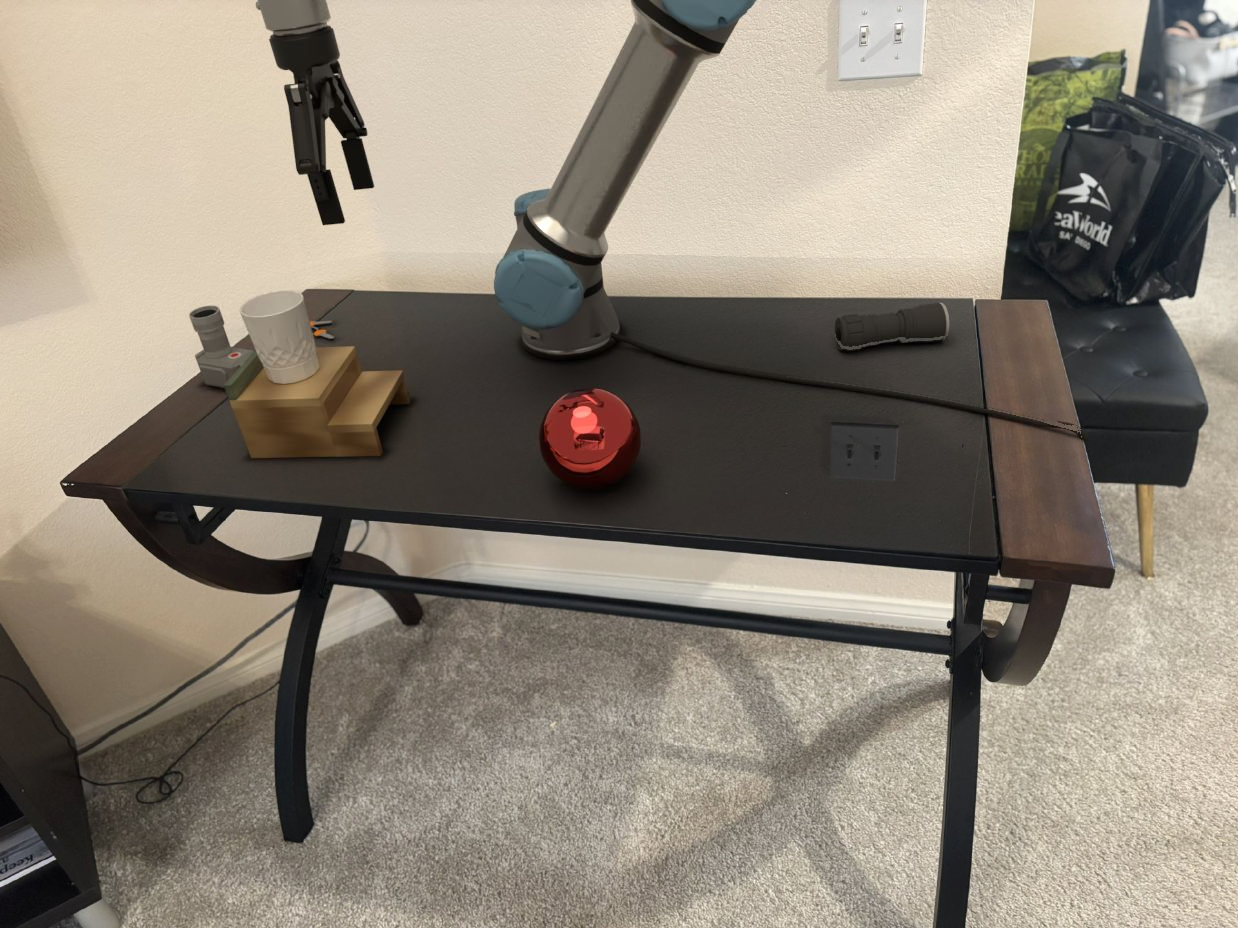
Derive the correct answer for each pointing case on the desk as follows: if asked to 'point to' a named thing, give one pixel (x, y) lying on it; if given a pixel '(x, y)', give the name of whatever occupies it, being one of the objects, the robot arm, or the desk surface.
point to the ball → (590, 438)
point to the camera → (215, 347)
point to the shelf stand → (315, 407)
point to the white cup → (281, 335)
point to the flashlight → (893, 325)
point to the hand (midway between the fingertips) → (349, 205)
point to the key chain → (321, 332)
